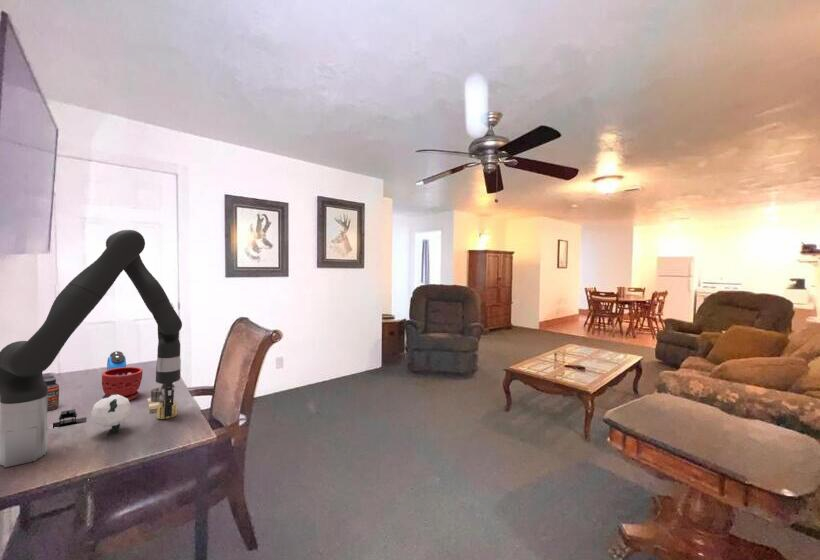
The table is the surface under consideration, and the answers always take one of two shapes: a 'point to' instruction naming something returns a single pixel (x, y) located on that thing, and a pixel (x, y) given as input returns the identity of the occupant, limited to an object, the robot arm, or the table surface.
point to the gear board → (153, 404)
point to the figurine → (111, 412)
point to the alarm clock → (116, 361)
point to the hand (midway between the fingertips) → (167, 412)
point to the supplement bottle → (52, 393)
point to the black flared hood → (71, 421)
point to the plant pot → (122, 382)
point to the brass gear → (161, 410)
